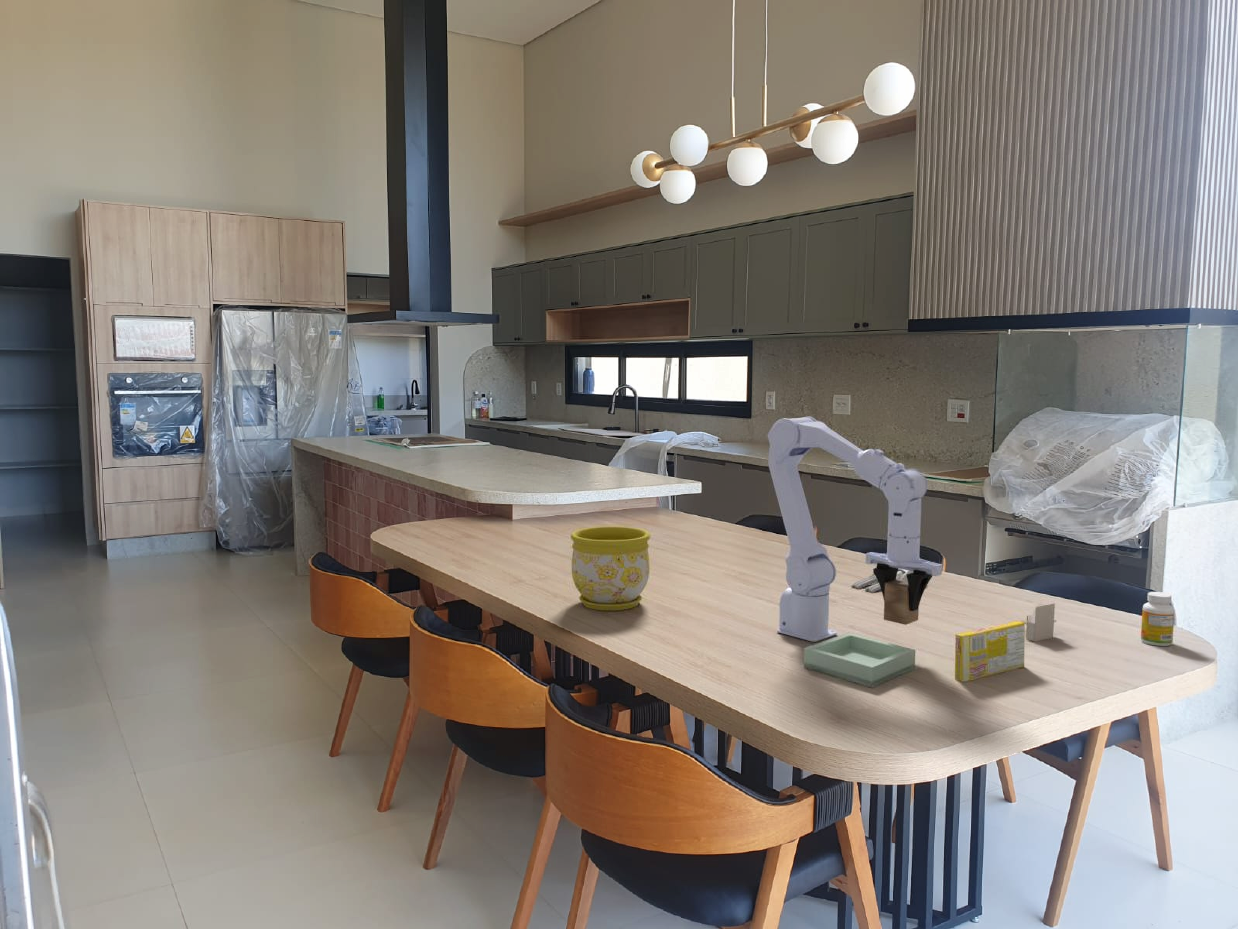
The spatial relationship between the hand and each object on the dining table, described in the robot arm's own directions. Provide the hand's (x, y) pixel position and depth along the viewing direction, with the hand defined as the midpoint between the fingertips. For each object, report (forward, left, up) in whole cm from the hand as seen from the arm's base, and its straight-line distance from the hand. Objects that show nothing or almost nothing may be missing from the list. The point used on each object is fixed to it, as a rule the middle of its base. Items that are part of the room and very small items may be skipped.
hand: (901, 607), depth 168 cm
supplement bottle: (+30, +45, -10) cm, 54 cm away
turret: (-31, +47, -10) cm, 58 cm away
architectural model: (+13, +31, -10) cm, 35 cm away
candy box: (+16, +4, -10) cm, 19 cm away
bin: (-1, -11, -9) cm, 15 cm away
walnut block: (0, 0, -2) cm, 2 cm away
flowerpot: (-64, -15, -10) cm, 67 cm away
